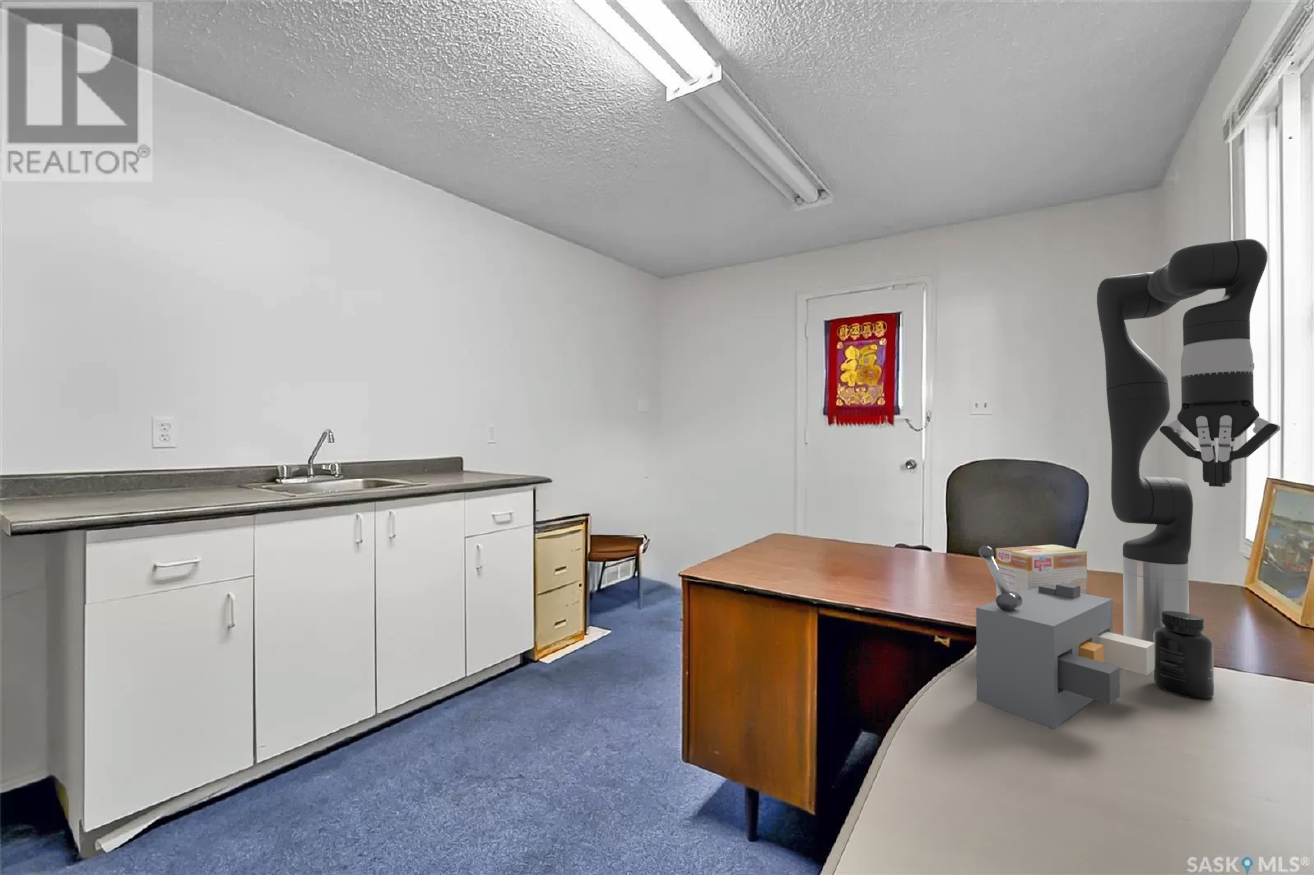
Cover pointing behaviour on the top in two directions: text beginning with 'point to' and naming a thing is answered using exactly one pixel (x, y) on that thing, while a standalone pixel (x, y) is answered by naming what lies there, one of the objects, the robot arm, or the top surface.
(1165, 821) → the top surface
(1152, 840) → the top surface
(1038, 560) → the coffeecake box
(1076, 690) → the black button
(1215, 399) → the robot arm
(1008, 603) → the toggle lever
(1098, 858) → the top surface
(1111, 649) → the cream button
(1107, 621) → the grey dispenser housing
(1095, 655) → the orange button
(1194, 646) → the supplement bottle
